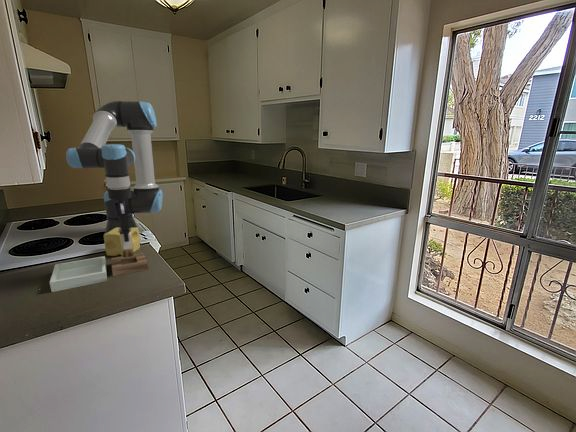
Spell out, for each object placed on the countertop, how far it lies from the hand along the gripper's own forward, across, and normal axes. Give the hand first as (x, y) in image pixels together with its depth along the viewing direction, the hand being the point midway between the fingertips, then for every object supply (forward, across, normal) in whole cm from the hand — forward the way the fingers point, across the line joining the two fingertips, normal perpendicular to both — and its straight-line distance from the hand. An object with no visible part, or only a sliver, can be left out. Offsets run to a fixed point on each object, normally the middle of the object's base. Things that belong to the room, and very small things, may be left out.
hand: (127, 246), depth 119 cm
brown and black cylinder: (+4, 0, 0) cm, 4 cm away
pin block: (+8, 0, 0) cm, 8 cm away
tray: (+8, +1, -16) cm, 18 cm away
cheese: (+9, -18, -1) cm, 20 cm away
